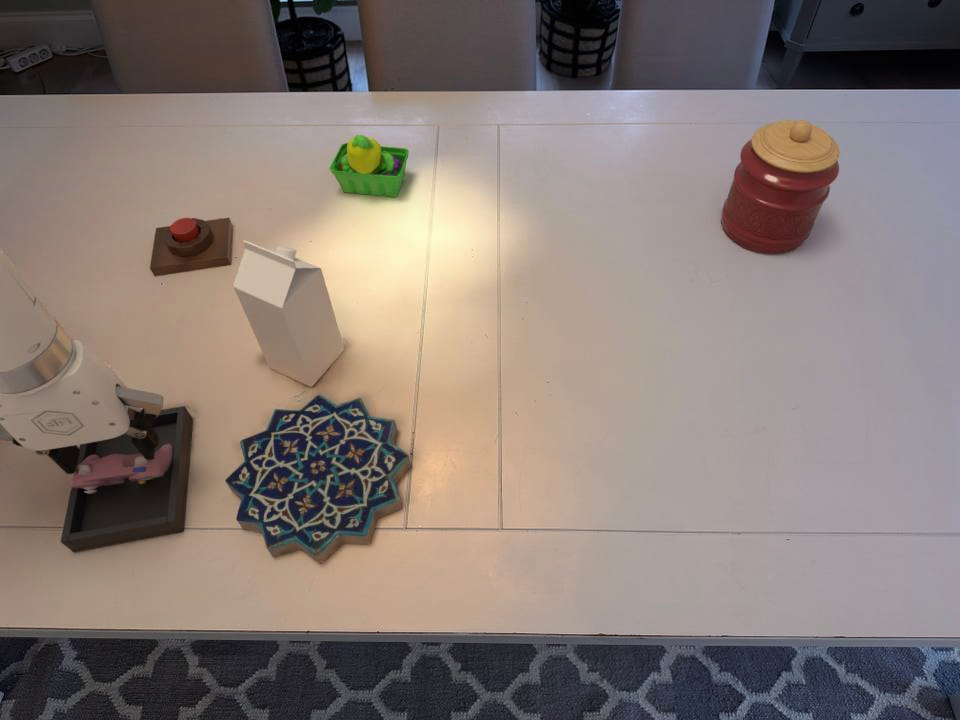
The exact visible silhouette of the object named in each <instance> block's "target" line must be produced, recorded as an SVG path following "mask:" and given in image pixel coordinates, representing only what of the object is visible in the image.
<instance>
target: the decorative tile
mask: <svg viewBox="0 0 960 720" xmlns="http://www.w3.org/2000/svg"><path fill="white" fill-rule="evenodd" d="M397 431H398V428H397V422H396V420H395V419H391V418H384V417H383V418H382V417H375V416H370V414H369V412H368V409H367V407H366V405H365V403H364V401H363V398H362V397H357V398H354V399H351V400H348V401H345V402H342V403H339V404H335V403H334V402H332V401H331V400H329V399H328V398H326V397H325V396H323V395H322V394H320V393H318V394H317V395H316V396H315V397H313V398H312V399H311V400H309V402H307V403H306V404H305V405H304V406H303V407H301V409H299V410H297V409H296V410H295V409H282V408H281V409H280V408H275V409H274V410H273V412H272V415H271V418H270V419H269V422H268V424H267V427H266V429H265V430H263V431H261V432H258V433H256V434H254V435H250V436H248V437H245V438H243V439H240V441H239V444H240V448H241V451H242V455H243V459H244V461H243V462H242V463H241V464H240V465H239V466H238V467H237V468H236V469H235V470H234V471H232V473H230V475H228V476H227V477H226V478H225V484H226V485H227V486H228V487H229V489H230V491H231V492H232V493H233V494H234V495H236V497H238V498H239V499H240V502H239V506H238V510H237V513H236V518H235V519H236V521H237V522H238V524H239V525H240V527H241V528H242V530H246V531H250V532H255V533H260V534H262V537H263V540H264V544H265V547H266V550H267V551H268V552H269V554H270V556H271V557H272V558H278V557H280V556H281V557H282V556H284V555H287V554H290V553H294V552H297V551H302V552H304V553H305V554H306V555H307V556H309V557H310V558H311V559H312V560H313V561H315V562H316V563H318V564H319V565H322V564H324V562H326V560H327V559H328V558H329V557H331V556H332V555H333V554H334V553H335V552H336V551H337V550H338V549H339V548H340V547H341V546H342V545H345V544H349V545H370V544H371V543H372V540H373V536H374V532H375V528H376V525H377V521H378V519H380V518H383V517H386V516H387V515H390V514H392V513H395V512H397V511H400V510H402V509H403V503H402V499H401V496H400V493H399V491H398V488H397V484H398V483H399V481H400V480H401V479H402V478H403V477H404V475H405V474H406V473H407V472H408V471H409V469H410V468H411V467H412V464H411V459H410V455H409V454H408V453H407V452H406V451H404V450H403V449H402V448H400V447H398V446H397V445H396V444H395V443H396V440H397V436H398V432H397ZM396 435H397V436H396Z"/></svg>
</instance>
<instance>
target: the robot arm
mask: <svg viewBox="0 0 960 720" xmlns="http://www.w3.org/2000/svg"><path fill="white" fill-rule="evenodd" d="M163 407H164V396H163V395H162V394H158V393H154V392H149V391H143V390H138V389H133V388H128V386H127V385H126V384H125V383H124V382H123V380H122V379H121V377H119V375H118V374H117V373H116V372H115V371H114V370H113V368H111V367H110V366H109V365H108V364H107V363H106V361H105V360H103V359H102V357H100V356H99V355H98V354H97V353H96V352H94V351H93V350H92V349H91V348H90V347H88V346H87V345H86V344H84V342H82V341H81V340H79V339H72V338H71V337H70V336H69V334H68V333H67V332H66V330H65V329H64V328H63V327H62V325H61V324H60V322H59V321H58V320H57V319H56V317H55V316H54V315H53V313H51V310H49V308H48V307H47V306H46V305H45V303H44V302H43V301H42V300H41V299H40V297H39V296H38V294H36V292H35V291H34V290H33V288H32V287H31V285H30V284H29V283H28V282H27V280H26V279H25V277H24V276H23V275H22V274H21V273H20V271H19V270H18V269H17V267H16V266H15V265H14V263H12V261H11V260H10V259H9V257H8V256H7V255H6V253H5V252H4V250H3V249H2V248H1V247H0V440H4V441H7V442H10V441H12V444H13V445H15V446H18V447H22V448H25V449H27V450H29V451H35V454H36V455H39V456H48V457H49V458H50V459H51V460H52V462H54V463H55V464H56V465H57V466H58V467H59V468H60V469H61V470H62V471H63V472H64V473H65V474H66V475H73V473H74V472H75V471H76V467H77V462H78V457H79V452H80V450H79V446H80V444H85V443H91V442H96V441H102V440H107V439H112V438H115V437H118V436H121V435H123V434H127V435H130V436H132V443H133V444H134V446H135V447H136V448H137V449H138V451H139V452H140V453H141V454H142V455H143V457H144V458H145V459H147V460H152V459H154V454H155V448H156V447H158V445H159V437H158V434H157V433H156V432H155V430H154V429H153V428H152V425H153V424H154V423H155V422H156V418H157V416H158V415H159V413H160V412H161V410H163ZM129 417H132V418H134V420H133V424H132V423H130V419H129Z"/></svg>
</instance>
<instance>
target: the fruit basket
mask: <svg viewBox="0 0 960 720" xmlns="http://www.w3.org/2000/svg"><path fill="white" fill-rule="evenodd" d="M409 153H410V150H409V149H408V148H406V147H395V146H383V145H380V143H379V142H378V141H377V140H376V139H374V138H372V137H369V136H365V135H363V134H357V135H355V136H353V137H351V138H350V139H349V140H348V142H344V143H342V144H341V145H340V146H339V148H338V150H337V152H336V154H335V156H334V157H333V159H332V161H331V163H330V165H329V167H328V168H329V171H330V172H331V174H332V175H334V177H335V179H336V181H337V183H338V185H339V186H340V188H341V189H342V191H343V192H344V193H349V194H354V193H355V194H360V195H371V196H379V197H383V196H385V197H389V198H397V197H398V193H399V191H400V189H401V187H402V184H403V181H404V180H405V174H406V167H407V162H408V158H409Z"/></svg>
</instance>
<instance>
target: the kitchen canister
mask: <svg viewBox="0 0 960 720" xmlns="http://www.w3.org/2000/svg"><path fill="white" fill-rule="evenodd" d="M840 153H841V151H840V147H839V145H838V142H836V140H835V139H834V138H833V137H831V135H829V134H828V133H827V132H826V131H825V130H824V129H822V128H821V127H819V126H817V125H815V124H812V123H810V122H809V121H807V120H792V119H791V120H789V119H788V120H781V121H777V122H772V123H768V124H765V125H762V126H761V127H759V128H758V129H757V130H755V132H754V133H753V135H752V136H751V139H749V140H748V141H747V142H746V143H745V144H744V145H743V146H742V148H741V150H740V154H739V155H740V157H739V158H740V162H738V164H737V165H736V167H735V169H734V172H733V178H732V182H731V185H730V189H729V191H728V195H727V198H726V199H725V201H724V203H723V207H722V210H721V227H722V229H723V231H724V233H725V234H726V235H727V237H729V239H731V240H732V241H733V242H735V243H736V244H738V245H739V246H741V247H743V248H745V249H747V250H749V251H752V252H753V251H754V252H756V253H762V254H769V255H771V254H772V255H778V254H785V253H789V252H793V251H795V250H796V249H798V248H799V247H801V246H802V245H803V244H804V243H805V241H806V240H807V239H808V238H809V237H810V235H811V233H812V231H813V229H814V226H815V221H816V219H817V217H818V215H819V214H820V211H821V209H822V206H823V204H824V202H825V201H826V200H827V199H828V197H829V195H830V191H831V184H832V183H833V182H834V181H836V179H837V178H838V176H839V173H840V163H839V160H838V159H839V158H840Z"/></svg>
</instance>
